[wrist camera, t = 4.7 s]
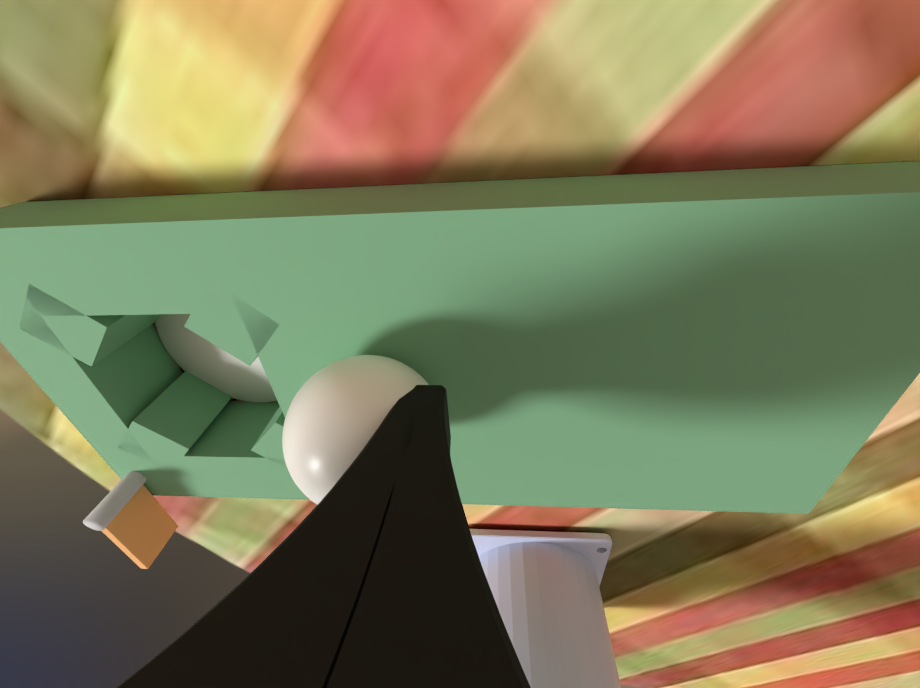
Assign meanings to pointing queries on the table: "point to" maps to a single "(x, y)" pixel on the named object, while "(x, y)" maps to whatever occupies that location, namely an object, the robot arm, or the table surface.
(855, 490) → the table surface
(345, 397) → the ball
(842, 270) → the green board with hole
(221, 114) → the table surface
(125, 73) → the table surface
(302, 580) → the robot arm
